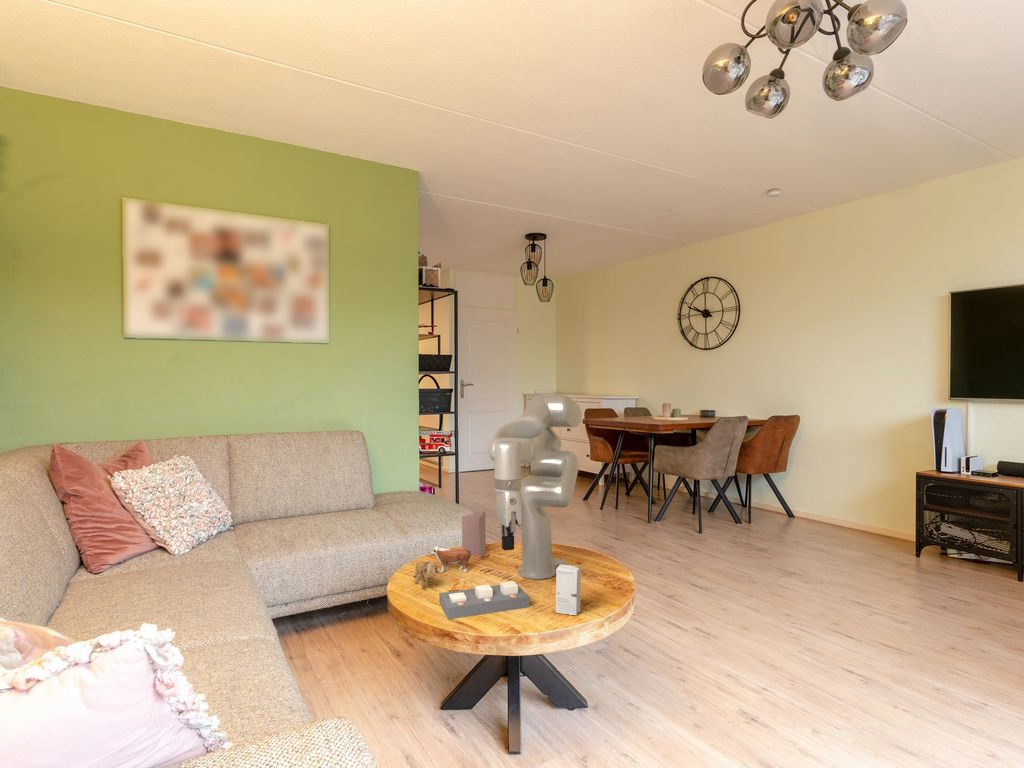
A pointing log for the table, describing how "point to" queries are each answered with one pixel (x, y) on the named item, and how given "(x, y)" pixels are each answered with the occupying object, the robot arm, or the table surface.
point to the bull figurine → (452, 557)
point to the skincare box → (568, 589)
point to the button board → (482, 603)
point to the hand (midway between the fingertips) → (508, 549)
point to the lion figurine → (426, 572)
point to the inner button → (508, 588)
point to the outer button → (457, 597)
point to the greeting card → (474, 533)
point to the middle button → (483, 591)
